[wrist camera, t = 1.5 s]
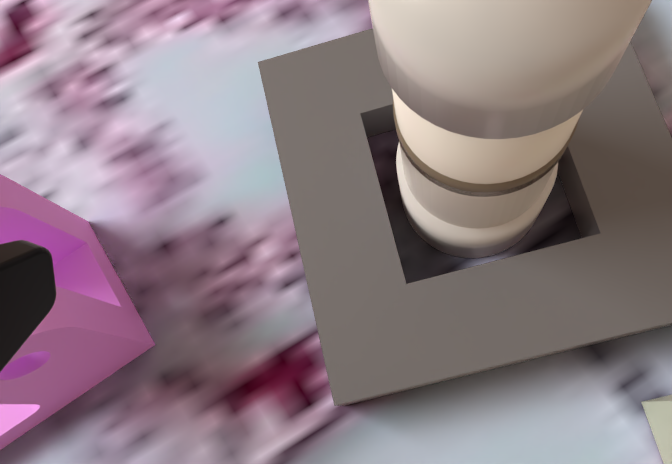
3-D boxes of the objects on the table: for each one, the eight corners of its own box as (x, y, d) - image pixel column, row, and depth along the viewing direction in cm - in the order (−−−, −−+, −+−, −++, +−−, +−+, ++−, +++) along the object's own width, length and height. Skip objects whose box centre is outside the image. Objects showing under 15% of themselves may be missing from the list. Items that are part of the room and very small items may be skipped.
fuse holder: (714, 314, 20) (743, 304, 18) (343, 405, 21) (334, 405, 19) (583, -2, 23) (596, -38, 22) (271, 89, 24) (258, 62, 22)
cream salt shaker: (561, 237, 21) (735, -1, 9) (421, 273, 22) (401, 94, 9) (517, 111, 23) (614, -246, 10) (386, 147, 23) (328, -154, 11)
